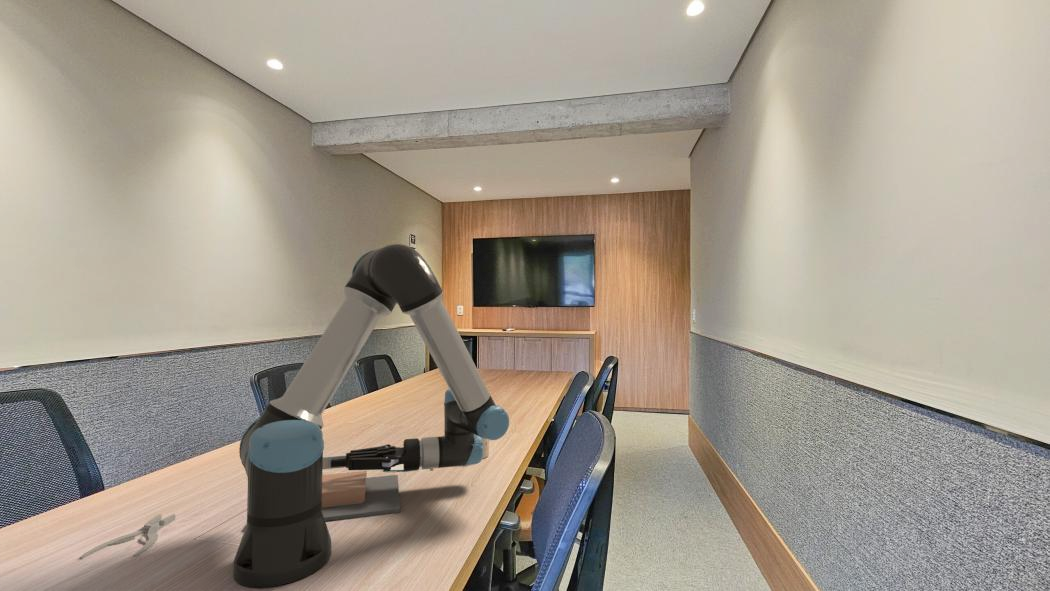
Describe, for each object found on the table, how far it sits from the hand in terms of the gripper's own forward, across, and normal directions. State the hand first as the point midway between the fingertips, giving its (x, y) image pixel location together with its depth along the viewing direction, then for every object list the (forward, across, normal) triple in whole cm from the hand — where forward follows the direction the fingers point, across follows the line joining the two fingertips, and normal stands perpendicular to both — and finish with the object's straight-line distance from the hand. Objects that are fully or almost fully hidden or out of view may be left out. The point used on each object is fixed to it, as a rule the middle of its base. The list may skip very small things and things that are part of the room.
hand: (316, 463), depth 105 cm
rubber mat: (-4, 0, -9) cm, 10 cm away
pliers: (+30, -8, -10) cm, 33 cm away
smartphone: (-20, +24, -10) cm, 33 cm away
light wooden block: (-11, 0, -6) cm, 13 cm away
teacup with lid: (-42, +22, -9) cm, 48 cm away
